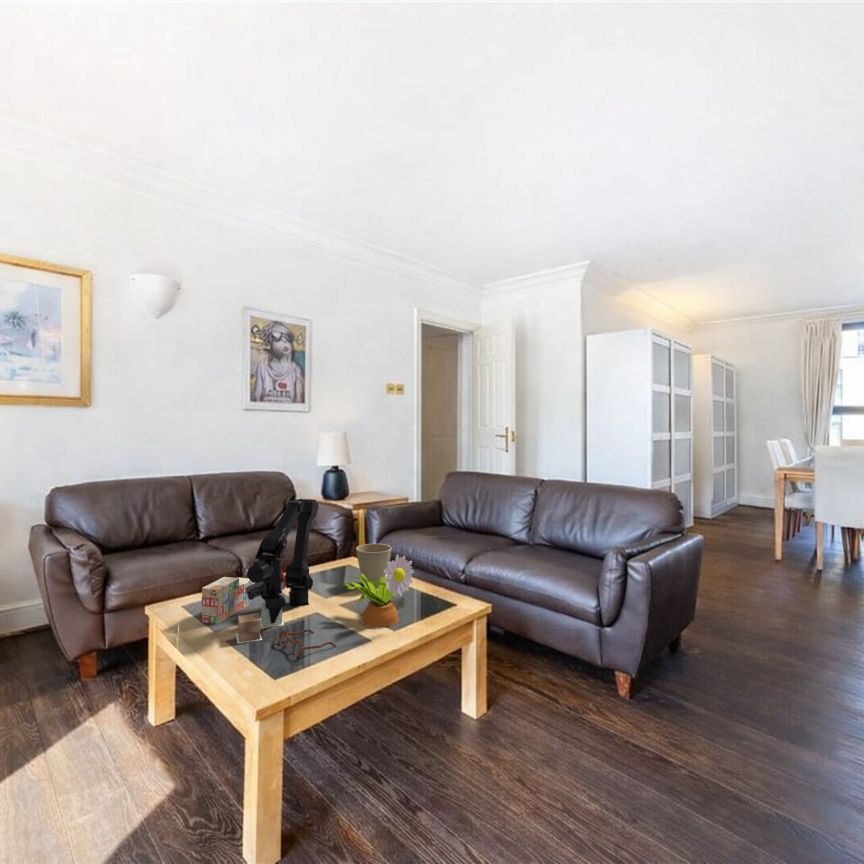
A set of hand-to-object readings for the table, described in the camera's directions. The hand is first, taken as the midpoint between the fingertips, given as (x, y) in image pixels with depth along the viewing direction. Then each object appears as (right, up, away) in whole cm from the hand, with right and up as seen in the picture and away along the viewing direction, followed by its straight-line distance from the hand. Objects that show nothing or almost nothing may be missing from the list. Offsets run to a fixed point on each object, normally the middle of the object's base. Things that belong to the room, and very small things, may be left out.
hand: (271, 619), depth 167 cm
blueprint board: (-2, -1, -8) cm, 8 cm away
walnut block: (-3, -1, -12) cm, 12 cm away
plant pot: (+29, -2, +43) cm, 52 cm away
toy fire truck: (-11, -1, +32) cm, 33 cm away
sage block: (0, -1, 0) cm, 1 cm away
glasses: (+16, -3, -15) cm, 23 cm away
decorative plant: (+36, -3, +7) cm, 37 cm away
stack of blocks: (-18, -1, +9) cm, 20 cm away
